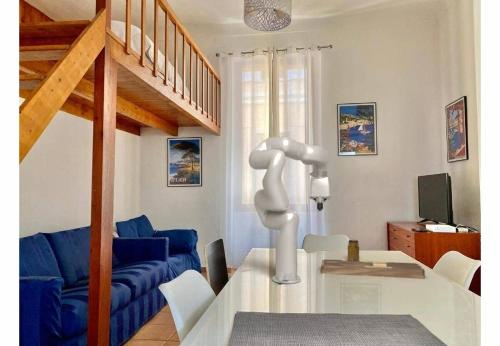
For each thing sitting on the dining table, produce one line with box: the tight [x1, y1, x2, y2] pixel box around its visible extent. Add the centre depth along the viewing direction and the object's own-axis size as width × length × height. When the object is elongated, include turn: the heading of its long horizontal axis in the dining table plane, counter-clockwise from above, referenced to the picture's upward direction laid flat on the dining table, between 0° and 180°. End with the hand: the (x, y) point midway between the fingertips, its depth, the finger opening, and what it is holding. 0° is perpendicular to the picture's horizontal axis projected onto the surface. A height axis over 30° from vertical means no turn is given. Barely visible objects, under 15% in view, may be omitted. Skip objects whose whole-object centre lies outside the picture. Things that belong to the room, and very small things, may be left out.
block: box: [372, 261, 387, 267], centre depth 179 cm, size 6×6×5 cm
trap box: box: [321, 259, 426, 280], centre depth 180 cm, size 12×46×4 cm, turn 78°
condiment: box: [347, 239, 360, 262], centre depth 203 cm, size 7×8×12 cm
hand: (320, 210), depth 192 cm, fingers closed
